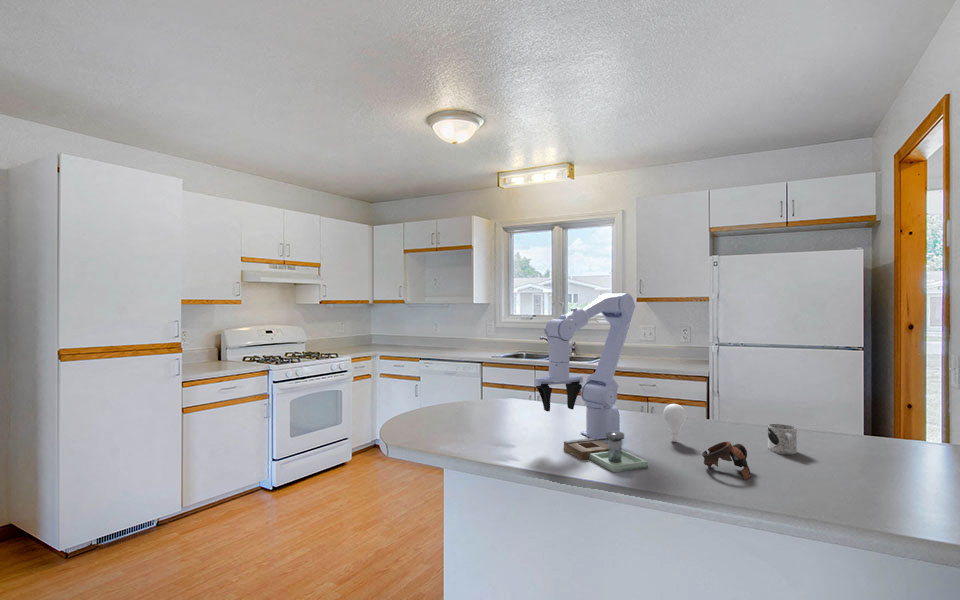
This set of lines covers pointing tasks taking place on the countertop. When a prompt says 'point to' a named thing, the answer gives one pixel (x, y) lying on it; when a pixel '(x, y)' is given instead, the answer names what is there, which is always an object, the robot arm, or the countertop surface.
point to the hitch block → (585, 447)
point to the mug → (782, 439)
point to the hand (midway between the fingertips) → (558, 409)
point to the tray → (626, 464)
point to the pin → (615, 446)
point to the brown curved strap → (728, 456)
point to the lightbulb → (674, 420)
